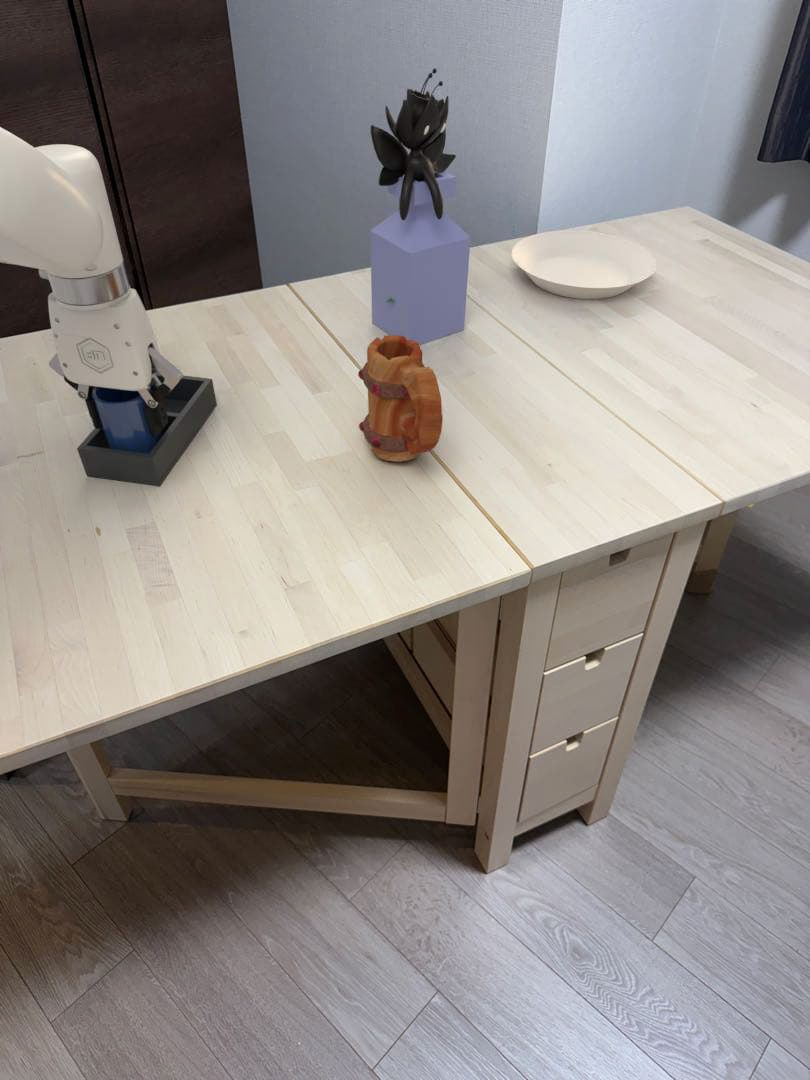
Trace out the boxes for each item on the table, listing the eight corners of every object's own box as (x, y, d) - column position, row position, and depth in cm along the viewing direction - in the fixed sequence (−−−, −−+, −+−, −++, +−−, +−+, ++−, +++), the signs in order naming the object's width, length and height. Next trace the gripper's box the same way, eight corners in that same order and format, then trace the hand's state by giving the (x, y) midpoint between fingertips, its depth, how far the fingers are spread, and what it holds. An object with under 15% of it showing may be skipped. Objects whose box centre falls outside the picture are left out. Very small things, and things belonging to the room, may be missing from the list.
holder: (86, 476, 89) (76, 448, 86) (152, 397, 102) (145, 370, 99) (159, 486, 88) (152, 458, 85) (217, 405, 101) (212, 378, 98)
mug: (351, 437, 96) (346, 329, 85) (408, 422, 98) (410, 316, 88) (398, 504, 86) (399, 392, 76) (460, 486, 89) (469, 375, 78)
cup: (102, 464, 90) (81, 400, 83) (127, 434, 94) (108, 371, 88) (152, 471, 89) (134, 407, 83) (174, 441, 93) (159, 377, 87)
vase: (397, 357, 111) (399, 89, 87) (356, 327, 118) (347, 70, 94) (472, 332, 117) (492, 74, 93) (429, 304, 124) (437, 58, 100)
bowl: (501, 299, 126) (503, 279, 123) (517, 243, 143) (520, 224, 141) (652, 316, 122) (658, 295, 119) (650, 256, 140) (655, 237, 137)
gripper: (-8, 288, 75) (48, 435, 87) (152, 305, 73) (187, 453, 85) (33, 259, 80) (81, 401, 93) (183, 273, 78) (212, 417, 90)
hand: (131, 425), depth 89 cm, fingers closed on cup, 6 cm apart
